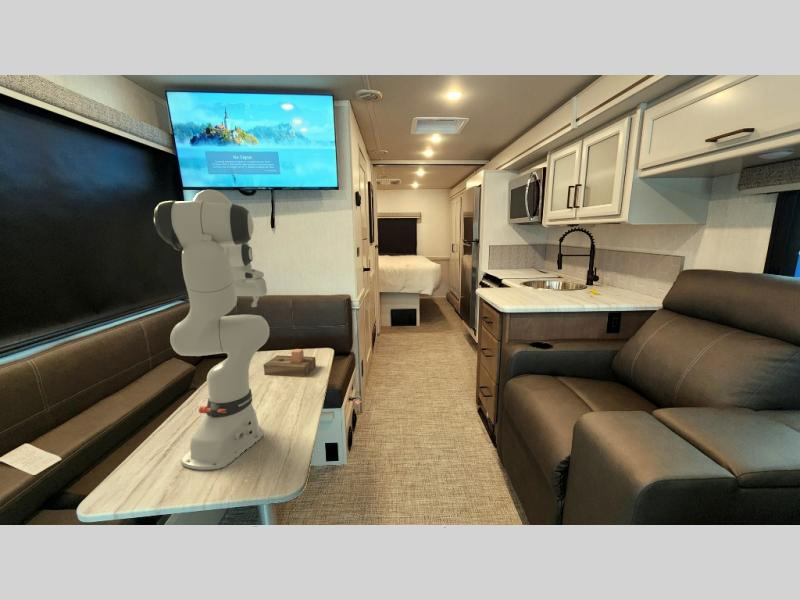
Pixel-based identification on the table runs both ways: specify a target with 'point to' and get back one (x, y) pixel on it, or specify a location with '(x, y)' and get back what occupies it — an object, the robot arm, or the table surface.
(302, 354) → the square peg
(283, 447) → the table surface
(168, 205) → the robot arm
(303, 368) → the socket block
